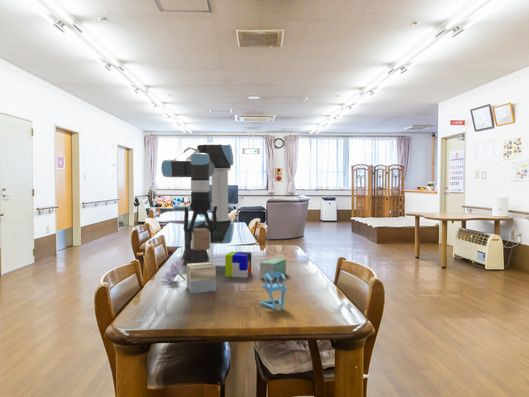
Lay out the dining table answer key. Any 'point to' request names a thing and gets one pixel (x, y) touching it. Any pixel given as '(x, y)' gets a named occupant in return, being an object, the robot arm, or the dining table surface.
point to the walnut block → (201, 238)
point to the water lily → (174, 271)
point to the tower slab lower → (201, 286)
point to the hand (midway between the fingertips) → (200, 247)
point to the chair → (274, 289)
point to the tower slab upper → (201, 271)
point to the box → (272, 267)
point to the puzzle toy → (238, 264)
